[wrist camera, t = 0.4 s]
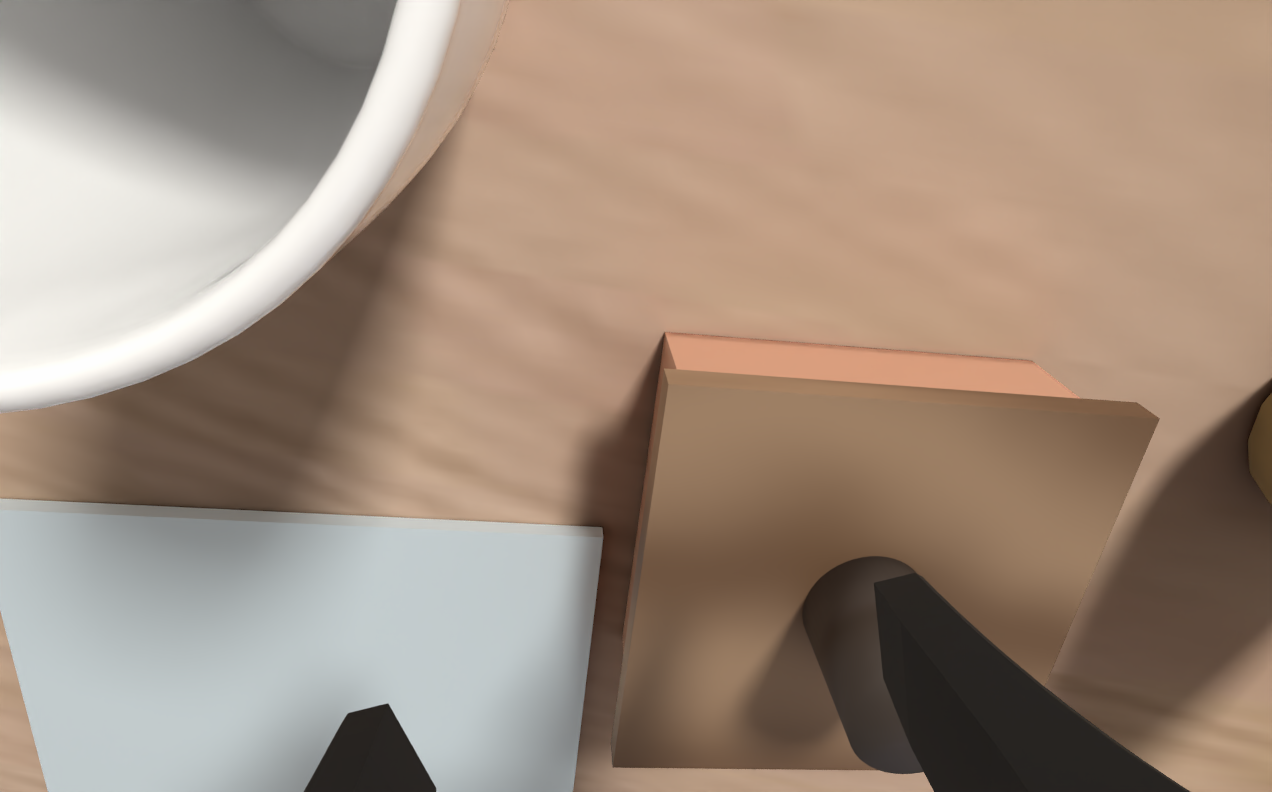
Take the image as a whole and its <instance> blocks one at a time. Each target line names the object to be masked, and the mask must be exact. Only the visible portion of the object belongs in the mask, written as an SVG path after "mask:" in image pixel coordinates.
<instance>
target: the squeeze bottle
mask: <svg viewBox="0 0 1272 792" xmlns="http://www.w3.org/2000/svg"><path fill="white" fill-rule="evenodd" d="M1248 454H1249V472H1250V474H1251V475H1252V477H1253V478H1254V480H1255V481H1256V483H1257V484H1258V486H1259V488H1260V489H1261V491H1262V492H1263V494H1264V495H1265V497H1266V498H1267V500H1268V501H1269V503H1270V505H1271V506H1272V393H1271V394H1270V395H1269V396H1268V398H1267V399H1266V400H1265V401H1264V402H1263V404H1262V405H1261V408H1260V411H1259V413H1258V416H1257V418H1256V421H1255V423H1254V426H1253V428H1252V431H1251V434H1250V436H1249V439H1248Z"/></svg>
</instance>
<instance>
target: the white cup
mask: <svg viewBox="0 0 1272 792" xmlns="http://www.w3.org/2000/svg"><path fill="white" fill-rule="evenodd" d="M508 5H509V0H0V413H8V412H16V411H25V410H33V409H41V408H46V407H50V406H55V405H60V404H64V403H69V402H74V401H78V400H83V399H88V398H92V397H96V396H99V395H102V394H106V393H109V392H112V391H115V390H118V389H121V388H124V387H128V386H131V385H134V384H137V383H140V382H143V381H146V380H149V379H151V378H153V377H156V376H158V375H160V374H163V373H165V372H167V371H170V370H172V369H174V368H176V367H179V366H181V365H183V364H186V363H188V362H190V361H193V360H195V359H197V358H199V357H200V356H202V355H204V354H206V353H207V352H209V351H211V350H213V349H214V348H216V347H218V346H220V345H221V344H223V343H225V342H227V341H228V340H230V339H232V338H234V337H236V336H237V335H239V334H241V333H242V332H244V331H245V330H246V329H248V328H249V327H250V326H252V325H253V324H255V323H256V322H257V321H259V320H260V319H262V318H263V317H264V316H266V315H267V314H268V313H270V312H271V311H273V310H274V309H275V308H277V307H278V306H279V305H281V304H282V303H284V302H285V301H286V300H287V299H288V298H289V297H290V296H291V295H292V294H293V293H295V292H296V291H297V290H298V289H299V288H300V287H301V286H302V285H303V284H304V283H306V282H307V281H308V280H309V279H310V278H311V277H312V276H313V275H314V274H315V273H317V272H318V271H319V270H320V269H321V268H322V267H323V266H324V265H325V264H326V263H327V262H328V261H329V260H331V259H332V258H333V257H334V256H335V255H336V254H337V253H339V252H340V251H341V250H342V249H343V248H344V247H345V246H346V245H347V244H348V243H350V242H351V241H352V240H353V239H354V238H355V237H356V236H357V235H358V234H359V233H361V232H362V231H363V230H364V229H365V228H366V227H367V226H368V225H369V224H370V223H372V222H373V221H374V220H375V219H376V218H377V217H378V216H379V215H380V214H381V213H382V212H383V211H384V210H385V209H386V208H387V207H388V206H389V205H390V204H391V203H392V202H393V201H394V200H395V198H396V197H397V196H398V195H399V194H400V193H401V192H402V191H403V189H404V188H405V187H406V186H407V185H408V184H409V183H410V182H411V180H412V179H413V178H414V177H415V176H416V175H417V174H418V172H419V171H420V170H421V169H422V168H423V167H424V166H425V164H426V163H427V162H428V161H429V159H430V158H431V157H432V156H433V154H434V153H435V151H436V150H437V149H438V147H439V146H440V144H441V143H442V142H443V140H444V139H445V137H446V136H447V134H448V133H449V132H450V130H451V129H452V127H453V126H454V125H455V123H456V122H457V120H458V119H459V117H460V116H461V114H462V112H463V110H464V109H465V107H466V105H467V103H468V101H469V100H470V98H471V96H472V94H473V92H474V91H475V89H476V87H477V85H478V84H479V82H480V79H481V77H482V75H483V73H484V71H485V68H486V66H487V64H488V61H489V59H490V57H491V54H492V52H493V50H494V48H495V45H496V43H497V40H498V37H499V34H500V30H501V27H502V24H503V21H504V18H505V15H506V12H507V9H508Z"/></svg>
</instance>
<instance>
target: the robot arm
mask: <svg viewBox="0 0 1272 792" xmlns="http://www.w3.org/2000/svg"><path fill="white" fill-rule="evenodd" d="M874 591H875V601H876V611H877V621H878V631H879V641H880V651H881V661H882V671H883V679H884V682H885V684H886V687H887V689H888V692H889V694H890V697H891V699H892V702H893V704H894V707H895V709H896V712H897V715H898V717H899V719H900V722H901V724H902V727H903V729H904V732H905V734H906V737H907V739H908V741H909V744H910V746H911V748H912V750H913V752H914V754H915V756H916V758H917V760H918V762H919V764H920V765H921V767H922V769H923V771H924V773H925V775H926V777H927V779H928V781H929V783H930V785H931V786H932V788H933V790H934V792H1190V791H1188V790H1187V789H1185V788H1184V787H1182V786H1181V785H1179V784H1178V783H1176V782H1175V781H1173V780H1172V779H1170V778H1169V777H1167V776H1166V775H1164V774H1163V773H1161V772H1160V771H1158V770H1157V769H1155V768H1154V767H1152V766H1151V765H1149V764H1148V763H1146V762H1145V761H1143V760H1142V759H1140V758H1139V757H1137V756H1136V755H1135V754H1133V753H1132V752H1130V751H1129V750H1127V749H1126V748H1125V747H1123V746H1122V745H1120V744H1119V743H1118V742H1116V741H1115V740H1114V739H1112V738H1111V737H1109V736H1108V735H1107V734H1105V733H1104V732H1103V731H1101V730H1100V729H1099V728H1097V727H1096V726H1095V725H1093V724H1092V723H1091V722H1089V721H1088V720H1087V719H1085V718H1084V717H1083V716H1081V715H1080V714H1079V713H1077V712H1076V711H1075V710H1073V709H1072V708H1071V707H1069V706H1068V705H1067V704H1066V703H1064V702H1063V701H1062V700H1061V699H1059V698H1058V697H1057V696H1056V695H1054V694H1053V693H1052V692H1050V691H1049V690H1048V689H1047V688H1045V687H1044V686H1043V685H1042V684H1041V683H1039V682H1038V681H1037V680H1036V679H1035V678H1033V677H1032V676H1031V675H1030V674H1029V673H1027V672H1026V671H1025V670H1024V669H1023V668H1021V667H1020V666H1019V665H1018V664H1017V663H1015V662H1014V661H1013V660H1012V659H1011V658H1009V657H1008V656H1007V655H1006V654H1005V653H1004V652H1002V651H1001V650H1000V649H999V648H998V647H997V646H996V645H994V644H993V643H992V642H991V641H990V640H989V639H988V638H987V637H985V636H984V635H983V634H982V633H981V632H980V631H979V630H978V629H977V628H976V627H974V626H973V625H972V624H971V623H970V622H969V621H968V620H967V619H966V618H965V617H964V616H962V615H961V614H960V613H959V612H958V611H957V610H956V609H955V608H954V607H953V606H952V605H951V604H950V603H949V602H948V601H947V600H946V599H945V598H944V597H943V596H942V595H941V594H939V593H938V592H937V591H936V590H935V589H934V588H933V587H932V586H931V585H930V584H929V583H928V582H927V581H926V580H925V579H924V577H922V576H920V575H919V574H917V573H911V574H907V575H903V576H899V577H895V578H891V579H887V580H883V581H879V582H875V583H874ZM304 792H436V787H435V785H434V783H433V781H432V780H431V778H430V776H429V774H428V773H427V771H426V769H425V767H424V765H423V764H422V762H421V760H420V758H419V757H418V755H417V753H416V751H415V750H414V748H413V746H412V744H411V743H410V741H409V739H408V737H407V735H406V734H405V732H404V730H403V728H402V727H401V725H400V723H399V721H398V720H397V718H396V716H395V714H394V712H393V711H392V709H391V707H390V705H389V704H388V703H387V704H383V705H379V706H375V707H371V708H367V709H363V710H359V711H355V712H350V713H348V714H347V715H346V717H345V718H344V720H343V722H342V723H341V725H340V727H339V729H338V730H337V732H336V734H335V736H334V737H333V739H332V741H331V743H330V745H329V747H328V748H327V750H326V752H325V754H324V756H323V757H322V759H321V761H320V763H319V765H318V767H317V768H316V770H315V772H314V774H313V776H312V777H311V779H310V781H309V783H308V785H307V786H306V788H305V790H304Z"/></svg>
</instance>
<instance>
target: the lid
mask: <svg viewBox="0 0 1272 792" xmlns="http://www.w3.org/2000/svg"><path fill="white" fill-rule="evenodd" d="M1158 421H1159V418H1158V417H1157V416H1155V415H1154V414H1152V413H1151V412H1149V411H1148V410H1147V409H1145V408H1144V407H1142V406H1141V405H1139V404H1138V403H1134V402H1120V401H1107V400H1093V399H1079V398H1065V397H1051V396H1038V395H1024V394H1010V393H996V392H982V391H969V390H955V389H941V388H927V387H914V386H900V385H886V384H872V383H858V382H845V381H831V380H817V379H803V378H789V377H776V376H762V375H748V374H734V373H720V372H707V371H693V370H679V369H665V368H664V372H663V379H662V386H661V393H660V400H659V407H658V414H657V421H656V428H655V435H654V442H653V449H652V456H651V463H650V470H649V477H648V484H647V491H646V498H645V506H644V513H643V520H642V527H641V534H640V541H639V548H638V555H637V562H636V569H635V576H634V583H633V590H632V597H631V604H630V611H629V618H628V625H627V632H626V640H625V647H624V654H623V661H622V668H621V675H620V682H619V689H618V696H617V703H616V710H615V717H614V724H613V731H612V738H611V751H612V765H613V767H622V768H714V769H807V770H880V771H884V772H889V773H896V774H912V773H919V772H924V771H923V769H922V767H921V765H920V764H919V762H918V760H917V758H916V756H915V754H914V752H913V750H912V748H911V746H910V744H909V741H908V739H907V737H906V734H905V732H904V729H903V727H902V724H901V722H900V719H899V717H898V715H897V712H896V709H895V707H894V704H893V702H892V699H891V697H890V694H889V692H888V689H887V687H886V684H885V682H884V679H883V671H882V661H881V651H880V641H879V631H878V621H877V611H876V601H875V591H874V583H875V582H879V581H883V580H887V579H891V578H895V577H899V576H903V575H907V574H911V573H917V574H919V575H920V576H922V577H924V579H925V580H926V581H927V582H928V583H929V584H930V585H931V586H932V587H933V588H934V589H935V590H936V591H937V592H938V593H939V594H941V595H942V596H943V597H944V598H945V599H946V600H947V601H948V602H949V603H950V604H951V605H952V606H953V607H954V608H955V609H956V610H957V611H958V612H959V613H960V614H961V615H962V616H964V617H965V618H966V619H967V620H968V621H969V622H970V623H971V624H972V625H973V626H974V627H976V628H977V629H978V630H979V631H980V632H981V633H982V634H983V635H984V636H985V637H987V638H988V639H989V640H990V641H991V642H992V643H993V644H994V645H996V646H997V647H998V648H999V649H1000V650H1001V651H1002V652H1004V653H1005V654H1006V655H1007V656H1008V657H1009V658H1011V659H1012V660H1013V661H1014V662H1015V663H1017V664H1018V665H1019V666H1020V667H1021V668H1023V669H1024V670H1025V671H1026V672H1027V673H1029V674H1030V675H1031V676H1032V677H1033V678H1035V679H1036V680H1037V681H1038V682H1039V683H1041V684H1042V685H1043V686H1044V687H1045V684H1046V682H1047V680H1048V677H1049V675H1050V673H1051V670H1052V668H1053V666H1054V663H1055V661H1056V659H1057V656H1058V654H1059V652H1060V649H1061V647H1062V645H1063V642H1064V640H1065V638H1066V635H1067V633H1068V631H1069V628H1070V626H1071V624H1072V621H1073V619H1074V617H1075V614H1076V612H1077V610H1078V607H1079V605H1080V603H1081V600H1082V598H1083V596H1084V593H1085V591H1086V589H1087V586H1088V584H1089V582H1090V579H1091V577H1092V575H1093V573H1094V570H1095V568H1096V566H1097V563H1098V561H1099V559H1100V556H1101V554H1102V552H1103V549H1104V547H1105V545H1106V542H1107V540H1108V538H1109V535H1110V533H1111V531H1112V528H1113V526H1114V524H1115V521H1116V519H1117V517H1118V514H1119V512H1120V510H1121V507H1122V505H1123V503H1124V500H1125V498H1126V496H1127V493H1128V491H1129V489H1130V486H1131V484H1132V482H1133V479H1134V477H1135V475H1136V472H1137V470H1138V468H1139V465H1140V463H1141V461H1142V458H1143V456H1144V454H1145V452H1146V449H1147V447H1148V445H1149V442H1150V440H1151V438H1152V435H1153V433H1154V431H1155V428H1156V426H1157V424H1158Z"/></svg>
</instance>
